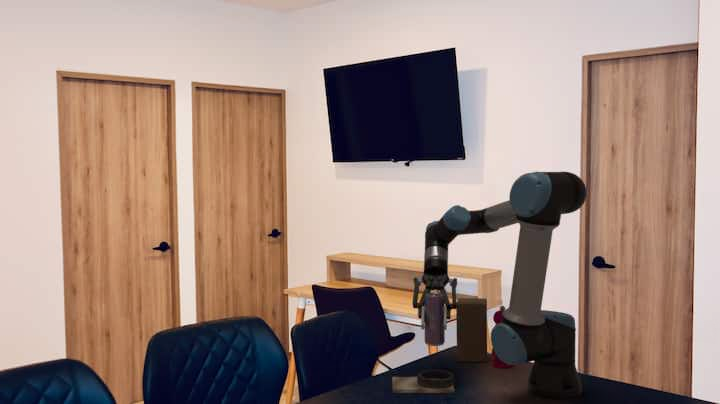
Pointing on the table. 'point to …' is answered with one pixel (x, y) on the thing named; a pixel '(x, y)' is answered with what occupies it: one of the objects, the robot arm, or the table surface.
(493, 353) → the pepper mill
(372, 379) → the table surface
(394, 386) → the band board
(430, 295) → the beverage can
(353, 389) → the table surface
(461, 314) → the wooden block
